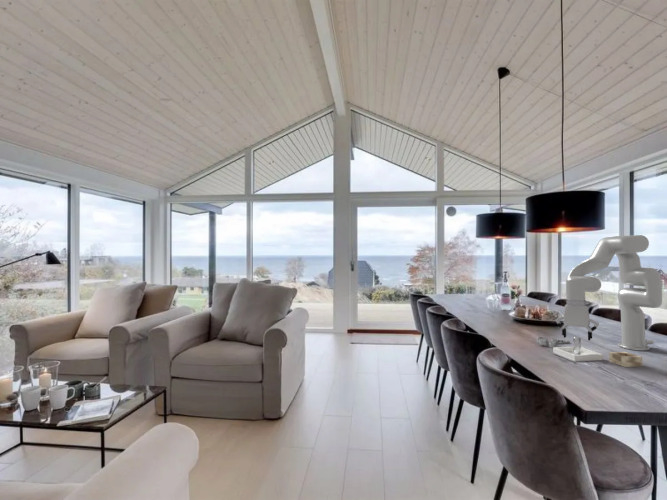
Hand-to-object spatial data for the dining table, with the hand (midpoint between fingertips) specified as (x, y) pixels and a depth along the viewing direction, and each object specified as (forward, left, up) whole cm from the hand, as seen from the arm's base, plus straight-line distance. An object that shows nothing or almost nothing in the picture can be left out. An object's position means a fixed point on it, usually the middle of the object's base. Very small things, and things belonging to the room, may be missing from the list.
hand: (576, 338), depth 165 cm
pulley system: (-5, -24, -10) cm, 26 cm away
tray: (0, 0, -9) cm, 9 cm away
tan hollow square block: (-12, +13, -9) cm, 20 cm away
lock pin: (0, 0, -8) cm, 8 cm away
